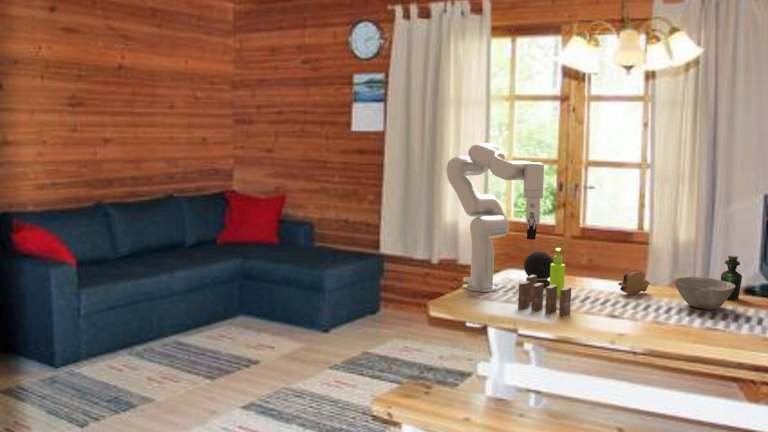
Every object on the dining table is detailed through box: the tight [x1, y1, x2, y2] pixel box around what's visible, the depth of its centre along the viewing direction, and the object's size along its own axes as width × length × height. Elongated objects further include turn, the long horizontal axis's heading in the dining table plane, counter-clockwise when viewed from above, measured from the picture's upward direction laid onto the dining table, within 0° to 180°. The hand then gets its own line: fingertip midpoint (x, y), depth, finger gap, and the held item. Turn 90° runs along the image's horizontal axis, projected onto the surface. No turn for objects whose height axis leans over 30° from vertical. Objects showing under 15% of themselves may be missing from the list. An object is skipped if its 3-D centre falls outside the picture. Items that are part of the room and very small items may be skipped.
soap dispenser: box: [549, 247, 566, 298], centre depth 311 cm, size 6×7×20 cm
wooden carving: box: [617, 270, 650, 296], centre depth 316 cm, size 16×5×10 cm, turn 123°
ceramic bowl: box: [673, 276, 735, 311], centre depth 296 cm, size 22×23×10 cm
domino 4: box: [544, 285, 558, 315], centre depth 283 cm, size 2×6×10 cm, turn 146°
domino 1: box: [517, 280, 530, 311], centre depth 289 cm, size 2×6×10 cm, turn 146°
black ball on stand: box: [523, 250, 554, 289], centre depth 331 cm, size 13×13×15 cm
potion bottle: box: [720, 254, 743, 301], centre depth 312 cm, size 8×8×18 cm
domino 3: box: [531, 283, 544, 313], centre depth 286 cm, size 2×6×10 cm, turn 146°
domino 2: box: [525, 275, 537, 303], centre depth 302 cm, size 2×6×10 cm, turn 146°
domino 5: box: [558, 286, 572, 317], centre depth 280 cm, size 2×6×10 cm, turn 146°
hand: (531, 237), depth 294 cm, fingers open, 9 cm apart
